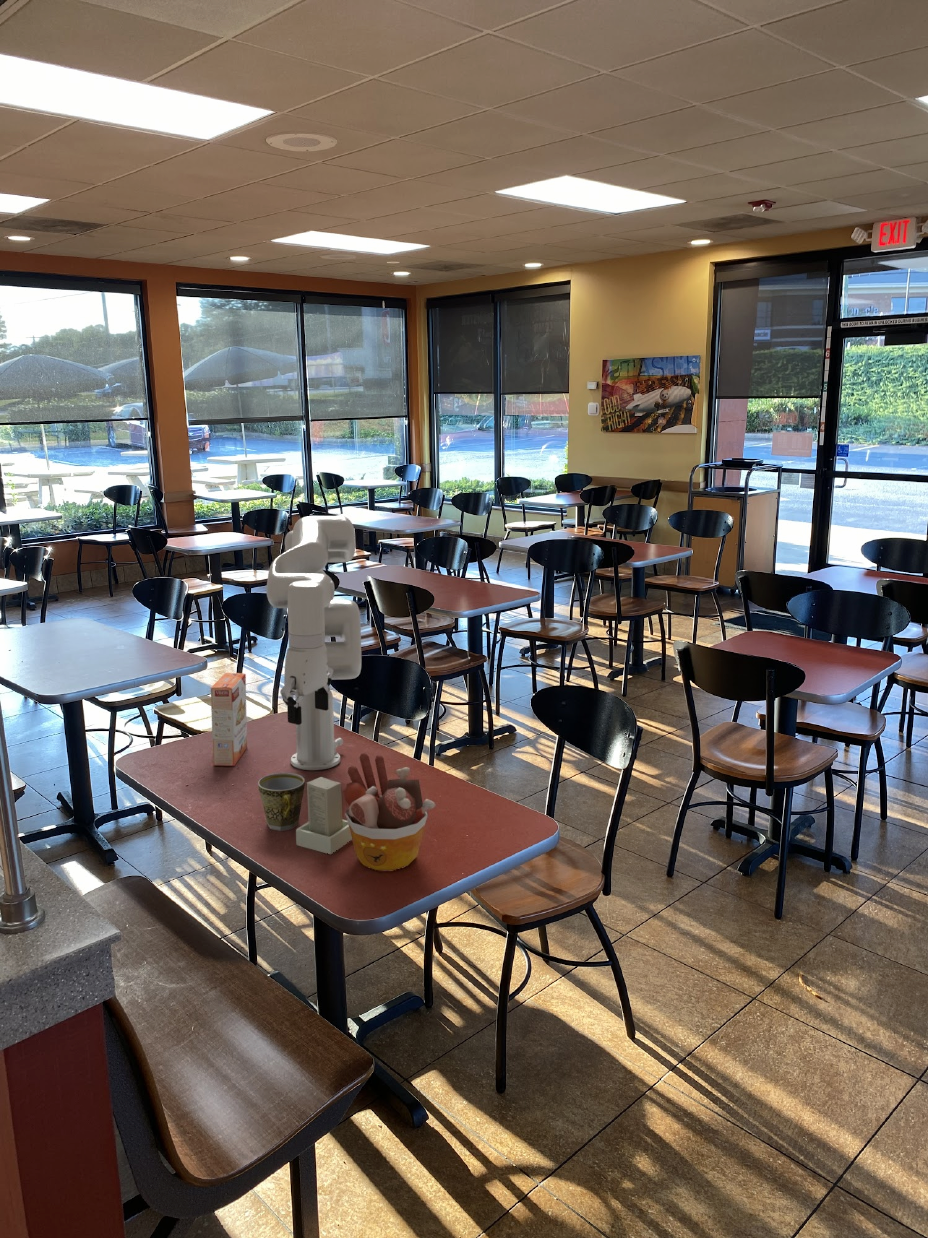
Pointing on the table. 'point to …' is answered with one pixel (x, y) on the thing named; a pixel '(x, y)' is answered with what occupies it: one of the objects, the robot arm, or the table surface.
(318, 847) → the holder
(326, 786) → the skincare box
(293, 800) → the ceramic cup
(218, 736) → the cracker box
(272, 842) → the table surface
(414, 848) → the bucket of meat
